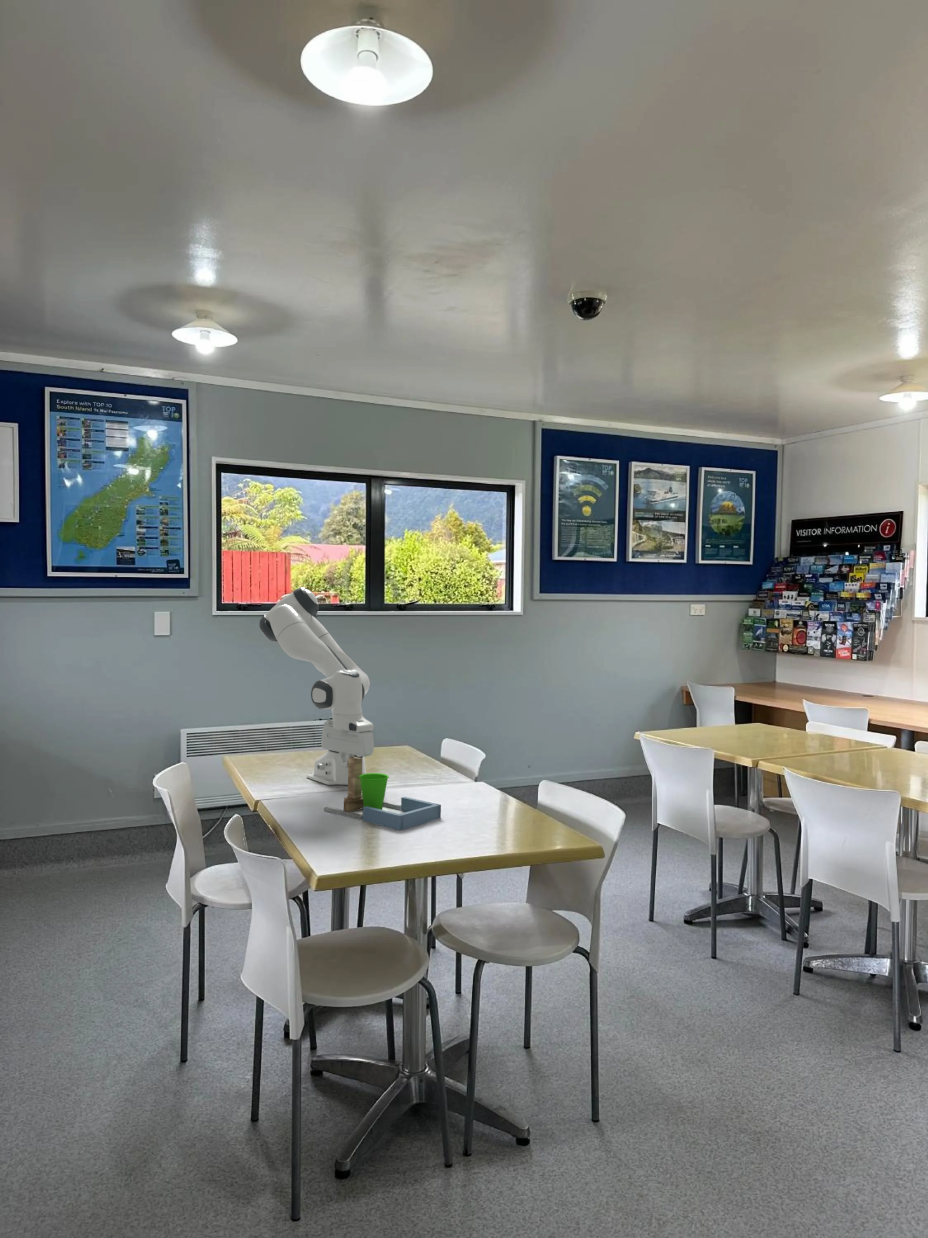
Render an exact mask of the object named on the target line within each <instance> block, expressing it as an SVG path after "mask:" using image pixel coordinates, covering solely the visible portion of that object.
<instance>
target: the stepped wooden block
mask: <svg viewBox="0 0 928 1238" xmlns="http://www.w3.org/2000/svg"><path fill="white" fill-rule="evenodd" d="M361 774H362V758H358V757H353V758H349V760H348V785H347V796H346V797H344V798H343V810H345V811H349V812H354V811H359V810H363V807H364V804H363V797H362V789H361V781H360V778H359V776H360V775H361Z"/></svg>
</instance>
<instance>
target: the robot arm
mask: <svg viewBox="0 0 928 1238" xmlns="http://www.w3.org/2000/svg"><path fill="white" fill-rule="evenodd" d="M319 605H320V604H319V601H318V599H317V597H316V595H315V594H314V592H312V591H311V590H310V589H308V588H307V587H303V586H299V587H298V588H295V589H294V590H293V591H292V592H291V593H289V594H287V595H286V596H285V597H283V598H282V599H280V600H279V601H278V603H276V604H275V605H274V606H272V608H271V609H270V610H269V611H268V612H267V613H264V614H263V616H262V617H261V618H260V619H259V625H258V626H259V629H260V631H261V633H262V634H263V636H264V637H265V638H267V639H268V640H270V641H271V642H278V644H279V646H280V648H281V649H282V650H283V652H284V653H285V654H286V655H287V656H288V657H289V658H292V659H294V660H299V661H304V662H308V663H311V664H312V665H313V667H315V669H316V670H317V671H319V672H320V673H322V674H323V676H325V677H326V678H321V679H319V680H317V681H315V682H314V683H313V685H312V687H311V691H310V699H311V702H312V703H313V705H314V706H315V707H316V708H317V709H319V710H331V717H332V719H327V720H326V721H325V722H324V723H323V728H322V733H321V741H320V742H321V744H320V745H321V748H322V749H323V750H326V752H325V753H324V754H322V756H319V757H318V758H317V759H316V760H315V761H314V767H313V772H311V773H308V774H307V775H306V778H307V779H310V780H313V781H315V782H319V783H321V784H325V785H328V786H331V785H334V786H335V785H341V786H342V785H345V786H346V785H347V786H348V760H349V758H353V757H358V758H362V774H366V773H367V771H366V769H367V768H366V760H365V759H366V757H371V756H372V755H373V753H374V750H375V741H374V739H375V738H374V734H373V731H374V727H375V725H374V724H373V722H372V721H370V720H368V719H366V717H364V716H363V715H364V714H363V709H362V702H363V701H364V698H365V695H367V693H368V692H369V689H370V686H371V682H370V678H369V676H368V674H367V673H366V672H365V671H363V670H362V669H361V668H360V667H359V666H358V665H357V664H356V663H355V662H354V661H353V660H352V659H351V657H350V656H348V655H347V654H346V653H345V652H344V650H342V648H341V647H340V645H339V643H337V642H336V640H335V639H334V638H333V636H332V635H331V633H330V632H329V631H328V630H327V628H326V627H325V626H324V625H323V624H322V623H321V622H320V621H319V620H318V619H317V618H318V612H319V609H320V608H319V607H320V606H319Z"/></svg>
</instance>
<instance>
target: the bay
mask: <svg viewBox="0 0 928 1238" xmlns="http://www.w3.org/2000/svg"><path fill="white" fill-rule="evenodd" d="M400 799H401V801H400V803H401V804H400V805H401V810H400V811H402V812H403V813H396V812H393V811H390V810H389V811H388V810H384V809H382V810H381V809H377V808H372V807H368V806H365V807H363V809H362V815H363V820H362V821H363V822H366V823H369V824H374V825H378V826H381V827H386V828H390V829H394V830H398V831H401V830H405V829H407V828H408V829H409V828H412V827H414V826H415V827H416V826H419V825H423V824H425V823H428V822H431V821H435V820H439V819H441V816H442V815H441V813H442V811H441V810H442V804H439V803H437V802H436V803H435V802H430V801H425V800H423V799H417V798H413V797H407V796H402V797H400Z"/></svg>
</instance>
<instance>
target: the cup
mask: <svg viewBox="0 0 928 1238" xmlns="http://www.w3.org/2000/svg"><path fill="white" fill-rule="evenodd" d="M359 778H360V781H361V789H362V797H363V804H364V807H365V806H368V807H372V808H377V809H381V810H383V807H384V806H383V801H384V800H385V795H386V790H387V785H388V779H389V775H388V774H385V773H381V772H369V773H368V772H366V774H361V775H360V776H359Z"/></svg>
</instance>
